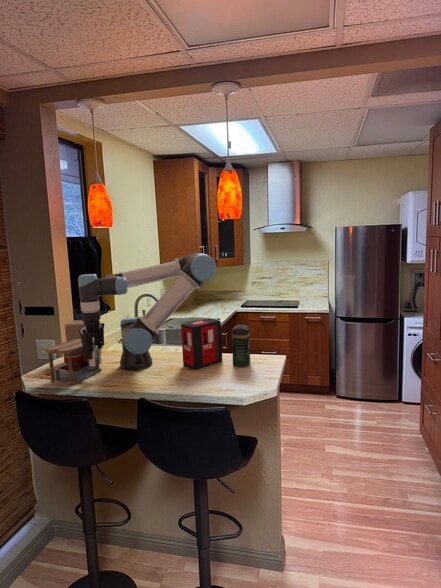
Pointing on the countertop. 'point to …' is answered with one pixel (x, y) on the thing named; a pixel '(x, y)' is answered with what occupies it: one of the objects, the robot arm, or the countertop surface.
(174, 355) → the countertop surface
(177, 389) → the countertop surface
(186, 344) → the cleaning product box
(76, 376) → the gray open tray
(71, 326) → the wooden block
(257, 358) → the countertop surface
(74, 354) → the canned food
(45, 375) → the frame
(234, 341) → the coffee jar
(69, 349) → the small wooden table
